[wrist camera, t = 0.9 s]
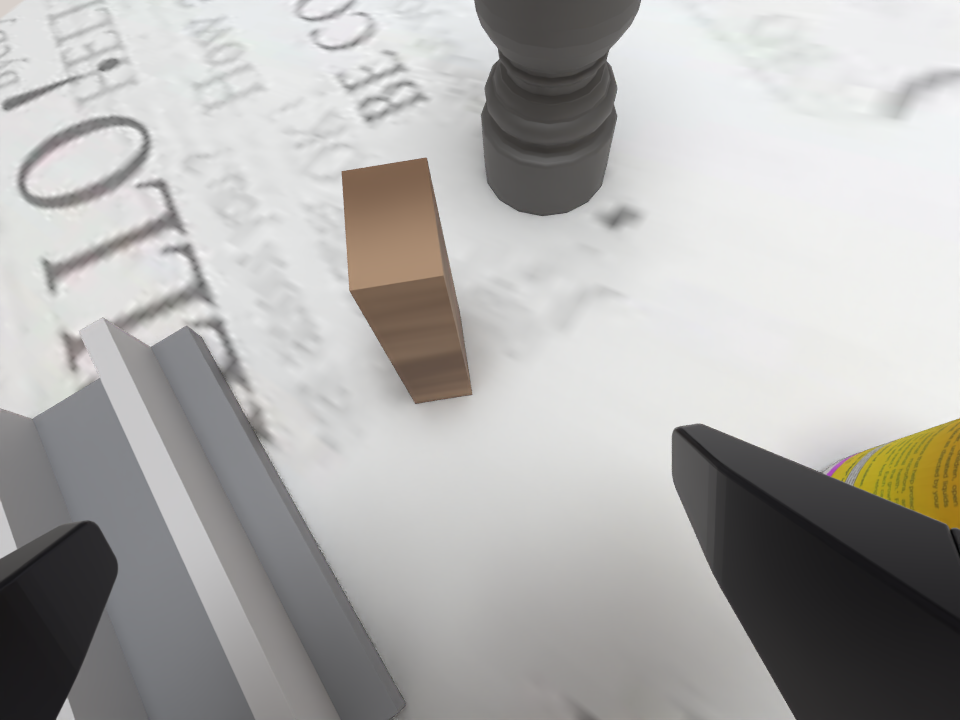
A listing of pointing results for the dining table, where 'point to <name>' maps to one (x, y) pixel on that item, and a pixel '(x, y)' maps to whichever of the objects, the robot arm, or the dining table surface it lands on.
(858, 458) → the supplement bottle
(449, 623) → the dining table surface
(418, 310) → the brown wooden block
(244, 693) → the grey long channel piece
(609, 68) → the candle holder
